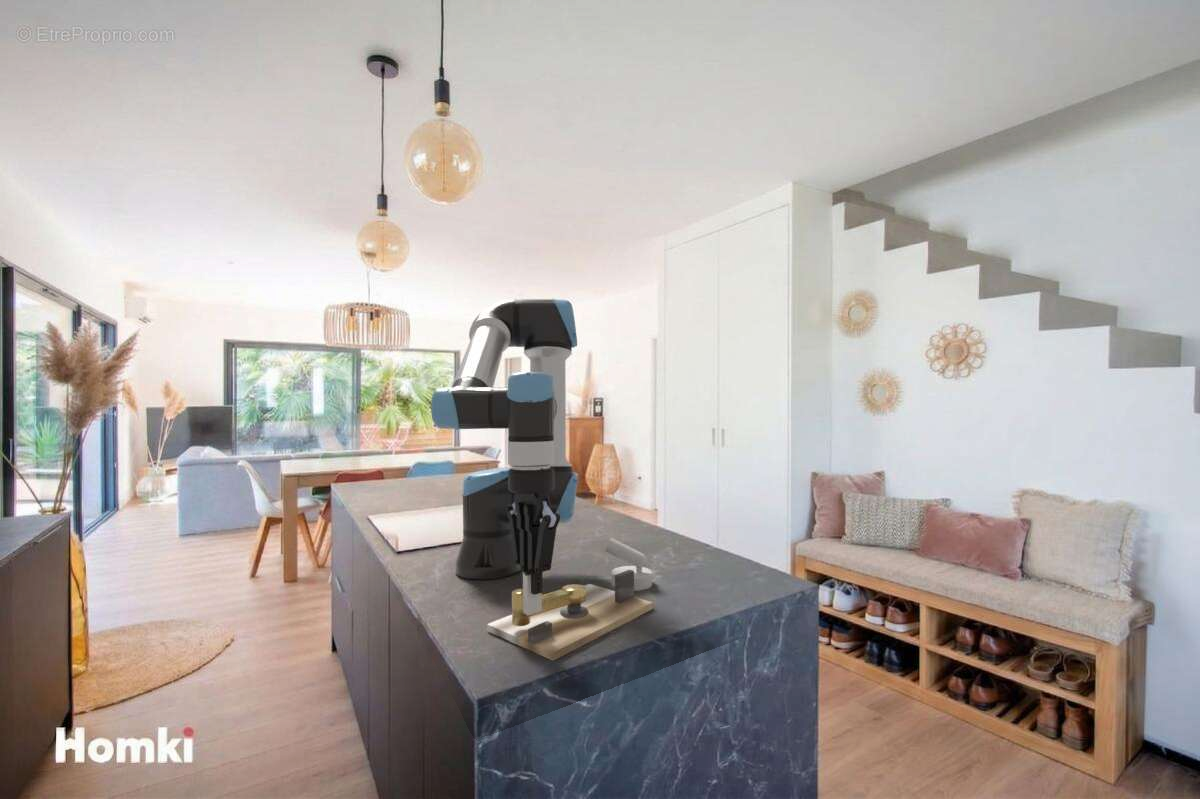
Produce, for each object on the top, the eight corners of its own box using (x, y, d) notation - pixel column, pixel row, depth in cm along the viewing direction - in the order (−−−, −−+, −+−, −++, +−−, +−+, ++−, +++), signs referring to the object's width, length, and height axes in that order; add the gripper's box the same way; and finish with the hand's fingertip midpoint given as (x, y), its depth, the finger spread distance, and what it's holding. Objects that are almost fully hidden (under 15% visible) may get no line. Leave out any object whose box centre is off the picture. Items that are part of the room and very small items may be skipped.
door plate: (487, 631, 89) (486, 594, 89) (589, 589, 109) (589, 559, 109) (553, 660, 79) (552, 619, 79) (653, 608, 98) (652, 575, 98)
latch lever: (576, 598, 97) (576, 571, 97) (591, 605, 93) (591, 577, 93) (506, 620, 87) (506, 590, 87) (520, 629, 84) (520, 597, 84)
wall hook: (608, 533, 118) (653, 535, 116) (609, 575, 118) (653, 578, 116) (601, 543, 109) (649, 545, 107) (601, 589, 109) (649, 592, 107)
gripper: (573, 468, 83) (574, 617, 83) (529, 462, 93) (530, 595, 93) (533, 472, 78) (534, 631, 78) (491, 465, 88) (492, 606, 88)
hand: (532, 611), depth 85 cm, fingers closed
